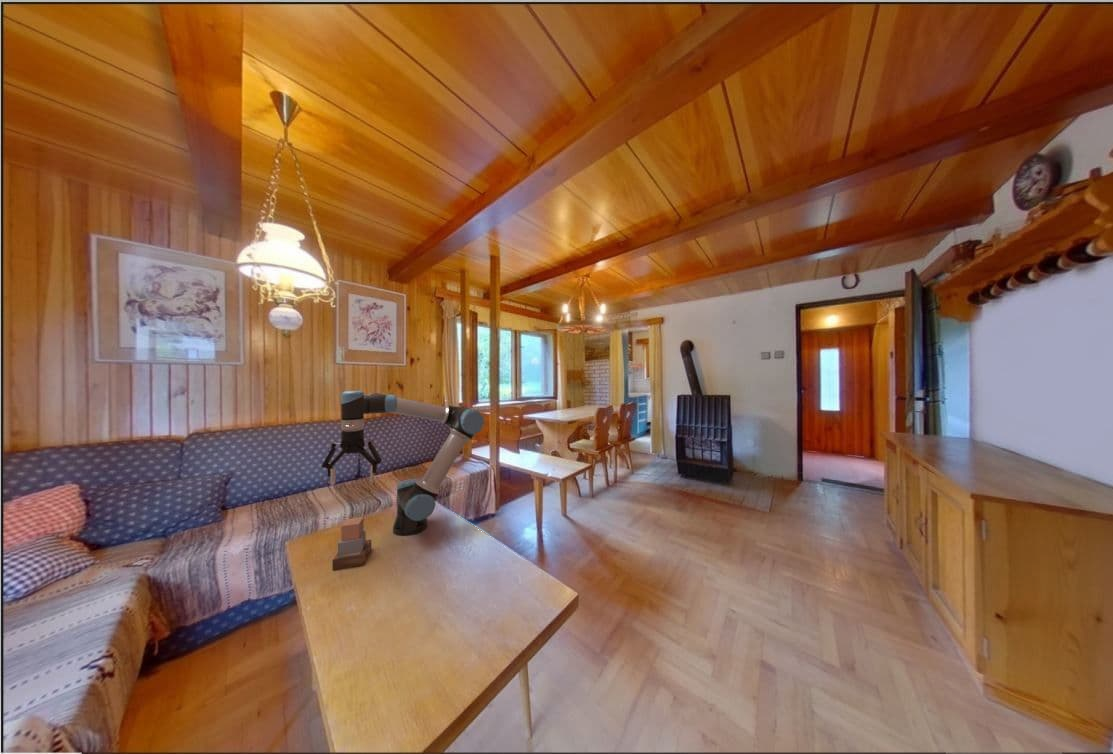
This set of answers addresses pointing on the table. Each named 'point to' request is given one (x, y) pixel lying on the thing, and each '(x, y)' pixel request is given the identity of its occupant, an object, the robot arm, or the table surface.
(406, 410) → the robot arm
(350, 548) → the slate block
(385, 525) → the table surface
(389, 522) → the table surface
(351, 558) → the plinth
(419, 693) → the table surface
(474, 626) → the table surface
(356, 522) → the terracotta cube
